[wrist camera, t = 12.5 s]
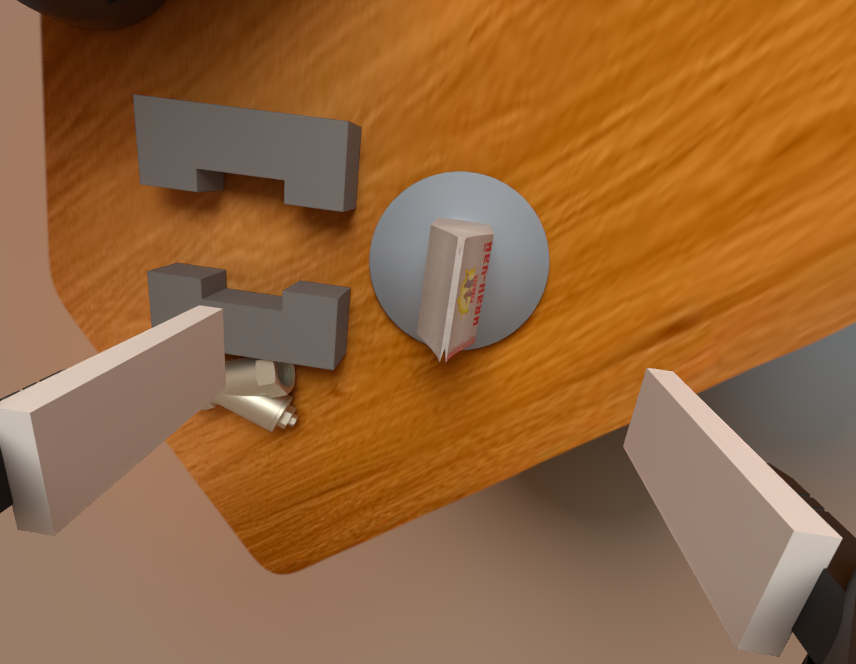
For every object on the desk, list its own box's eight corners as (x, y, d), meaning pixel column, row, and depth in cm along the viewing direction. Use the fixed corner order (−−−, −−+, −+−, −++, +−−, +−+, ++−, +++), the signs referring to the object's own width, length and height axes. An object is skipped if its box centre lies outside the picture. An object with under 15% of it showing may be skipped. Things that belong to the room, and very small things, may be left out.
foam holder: (167, 102, 32) (132, 94, 29) (361, 127, 32) (348, 121, 28) (180, 328, 38) (152, 342, 35) (345, 353, 37) (333, 370, 34)
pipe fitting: (313, 410, 40) (286, 341, 38) (298, 437, 37) (268, 363, 34) (231, 424, 41) (200, 358, 39) (209, 451, 38) (173, 381, 35)
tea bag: (425, 308, 34) (408, 357, 25) (438, 216, 32) (423, 232, 23) (474, 315, 34) (475, 367, 25) (490, 224, 32) (497, 243, 23)
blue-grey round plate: (380, 160, 32) (377, 159, 31) (564, 184, 32) (567, 184, 31) (365, 332, 37) (363, 337, 36) (528, 356, 36) (529, 361, 35)
